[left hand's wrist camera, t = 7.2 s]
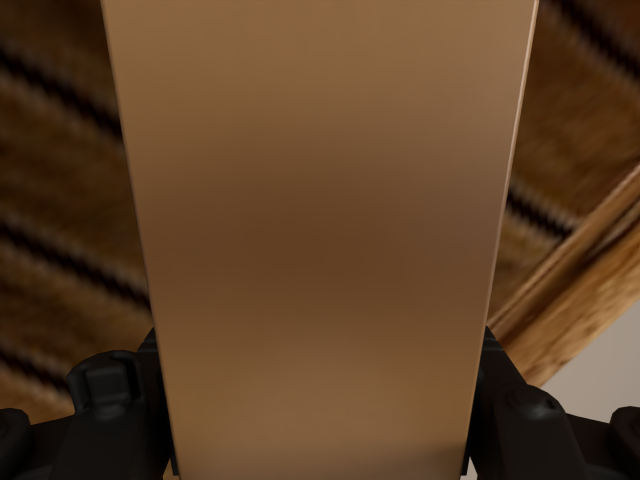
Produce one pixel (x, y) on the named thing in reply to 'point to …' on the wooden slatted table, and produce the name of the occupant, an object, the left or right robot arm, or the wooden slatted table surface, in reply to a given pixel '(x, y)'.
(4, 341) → the wooden slatted table surface
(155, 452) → the left robot arm
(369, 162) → the bar
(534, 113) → the wooden slatted table surface
